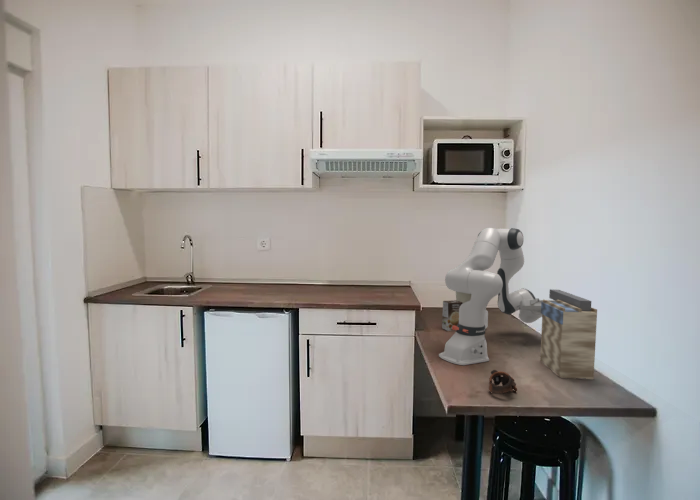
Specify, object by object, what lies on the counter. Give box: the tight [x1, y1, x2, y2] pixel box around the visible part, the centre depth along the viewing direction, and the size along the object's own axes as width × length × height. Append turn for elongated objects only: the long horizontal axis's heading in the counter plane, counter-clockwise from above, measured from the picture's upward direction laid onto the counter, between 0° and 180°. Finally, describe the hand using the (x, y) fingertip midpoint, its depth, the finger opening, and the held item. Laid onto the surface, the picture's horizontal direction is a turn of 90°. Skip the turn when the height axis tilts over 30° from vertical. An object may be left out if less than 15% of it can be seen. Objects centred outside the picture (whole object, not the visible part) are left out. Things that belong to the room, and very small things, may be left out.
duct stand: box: [539, 298, 598, 380], centre depth 148 cm, size 18×13×27 cm
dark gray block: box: [548, 288, 592, 311], centre depth 152 cm, size 26×4×4 cm, turn 175°
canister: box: [455, 291, 471, 303], centre depth 240 cm, size 18×18×21 cm
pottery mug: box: [488, 369, 518, 395], centre depth 128 cm, size 12×10×8 cm
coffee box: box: [441, 299, 463, 332], centre depth 206 cm, size 9×6×16 cm
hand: (548, 300), depth 172 cm, fingers open, 8 cm apart
